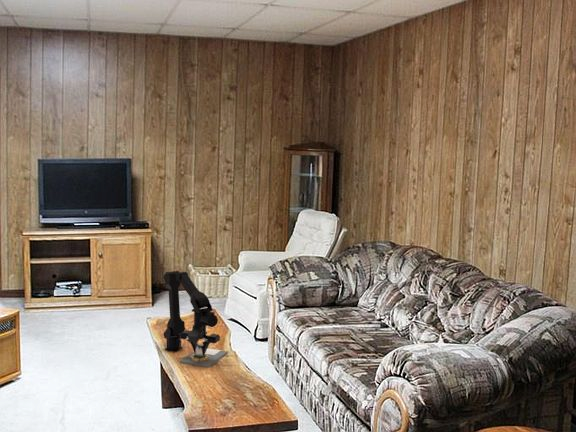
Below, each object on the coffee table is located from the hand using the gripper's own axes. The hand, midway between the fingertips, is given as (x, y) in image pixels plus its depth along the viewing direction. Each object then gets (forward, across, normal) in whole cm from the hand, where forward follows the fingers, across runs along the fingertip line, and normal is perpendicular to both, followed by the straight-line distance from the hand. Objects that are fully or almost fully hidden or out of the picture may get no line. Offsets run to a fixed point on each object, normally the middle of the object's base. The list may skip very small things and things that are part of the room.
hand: (199, 354), depth 325 cm
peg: (+2, 0, 0) cm, 2 cm away
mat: (+2, 0, +12) cm, 12 cm away
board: (+4, 0, +5) cm, 6 cm away
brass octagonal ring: (+2, 0, 0) cm, 2 cm away
